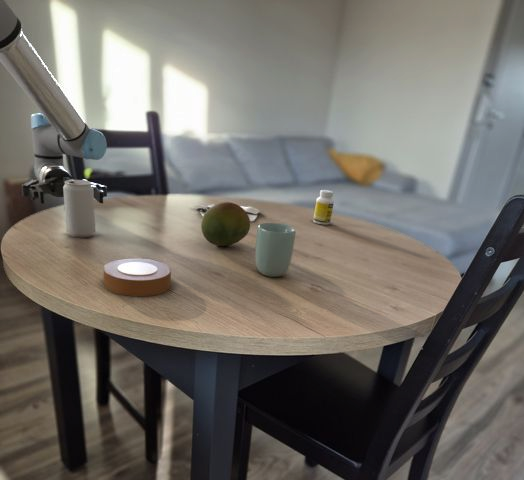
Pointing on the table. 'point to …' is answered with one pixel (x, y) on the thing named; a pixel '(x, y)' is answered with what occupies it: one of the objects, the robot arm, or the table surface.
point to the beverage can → (79, 208)
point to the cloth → (249, 210)
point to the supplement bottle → (324, 208)
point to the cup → (274, 248)
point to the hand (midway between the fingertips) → (72, 197)
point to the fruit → (225, 224)
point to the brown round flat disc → (137, 277)
